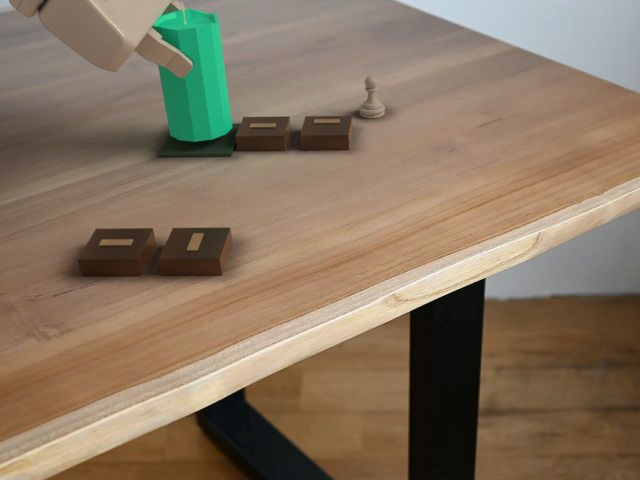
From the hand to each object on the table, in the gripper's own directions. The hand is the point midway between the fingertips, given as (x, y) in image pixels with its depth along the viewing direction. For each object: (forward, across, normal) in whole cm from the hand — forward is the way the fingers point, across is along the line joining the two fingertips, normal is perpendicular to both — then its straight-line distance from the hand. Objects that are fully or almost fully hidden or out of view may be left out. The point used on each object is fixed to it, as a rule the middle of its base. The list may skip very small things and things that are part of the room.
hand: (196, 58), depth 82 cm
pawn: (+17, -6, +5) cm, 18 cm away
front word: (+6, +21, -6) cm, 23 cm away
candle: (+5, 0, -5) cm, 7 cm away
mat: (+5, 0, -6) cm, 8 cm away
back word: (+12, 0, 0) cm, 12 cm away
